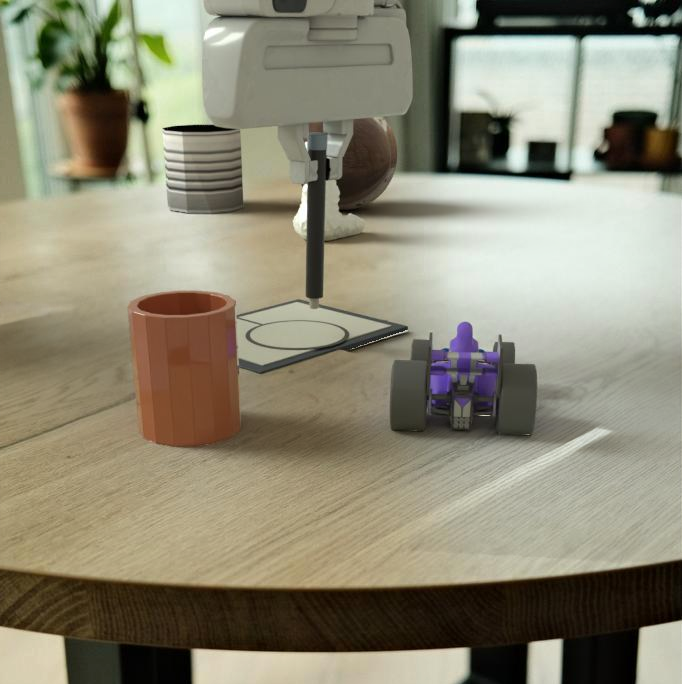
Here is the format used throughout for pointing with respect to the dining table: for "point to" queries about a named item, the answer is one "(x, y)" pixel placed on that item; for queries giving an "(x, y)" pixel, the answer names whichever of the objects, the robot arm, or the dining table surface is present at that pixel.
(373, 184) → the wooden sphere
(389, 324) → the white flat board
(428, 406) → the toy race car
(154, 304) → the cup
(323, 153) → the pen
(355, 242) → the dining table surface
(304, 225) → the white creature statuette
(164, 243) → the dining table surface
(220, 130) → the can
